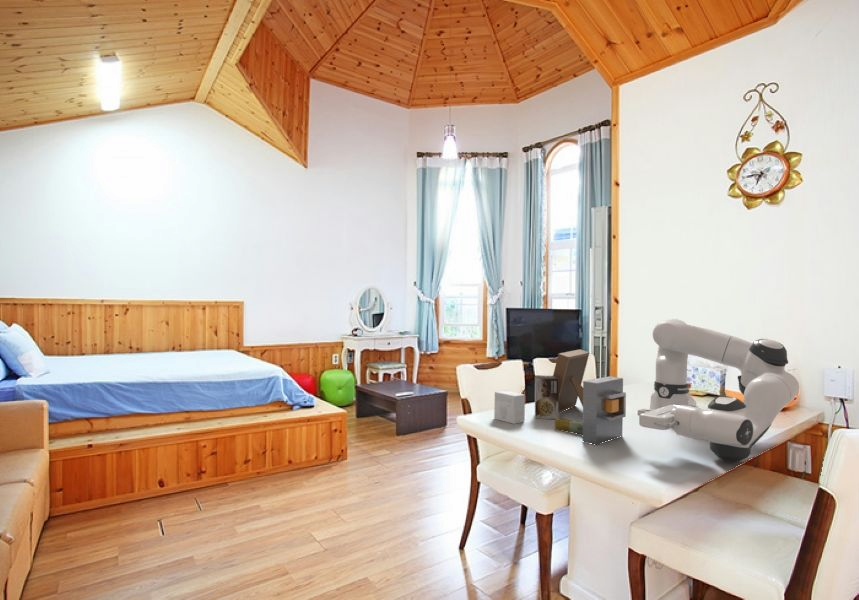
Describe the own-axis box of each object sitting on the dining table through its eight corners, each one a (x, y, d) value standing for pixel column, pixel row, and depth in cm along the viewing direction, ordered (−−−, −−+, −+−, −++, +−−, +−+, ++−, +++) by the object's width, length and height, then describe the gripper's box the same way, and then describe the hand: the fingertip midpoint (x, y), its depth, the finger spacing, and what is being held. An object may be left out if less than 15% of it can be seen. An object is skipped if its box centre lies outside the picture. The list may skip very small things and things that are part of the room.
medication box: (589, 435, 168) (589, 423, 168) (585, 436, 166) (585, 424, 166) (558, 428, 176) (558, 417, 176) (554, 429, 174) (554, 418, 174)
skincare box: (525, 421, 184) (525, 394, 184) (514, 424, 180) (514, 396, 180) (504, 416, 192) (505, 389, 192) (493, 418, 188) (493, 391, 188)
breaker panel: (608, 433, 169) (609, 376, 169) (630, 438, 163) (631, 379, 163) (582, 441, 159) (583, 381, 159) (604, 447, 153) (605, 384, 153)
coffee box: (557, 415, 194) (557, 375, 193) (558, 419, 187) (559, 378, 187) (534, 414, 195) (534, 374, 195) (534, 418, 189) (535, 377, 189)
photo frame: (543, 413, 197) (545, 352, 196) (566, 404, 214) (567, 348, 213) (579, 420, 187) (580, 355, 187) (599, 410, 204) (601, 351, 204)
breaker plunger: (592, 405, 167) (593, 394, 167) (618, 411, 160) (618, 399, 160) (586, 407, 165) (586, 395, 165) (612, 412, 157) (612, 400, 157)
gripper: (669, 438, 135) (622, 427, 145) (700, 425, 148) (655, 417, 158) (669, 415, 135) (622, 406, 145) (700, 405, 147) (655, 397, 158)
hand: (639, 412), depth 152 cm, fingers closed
